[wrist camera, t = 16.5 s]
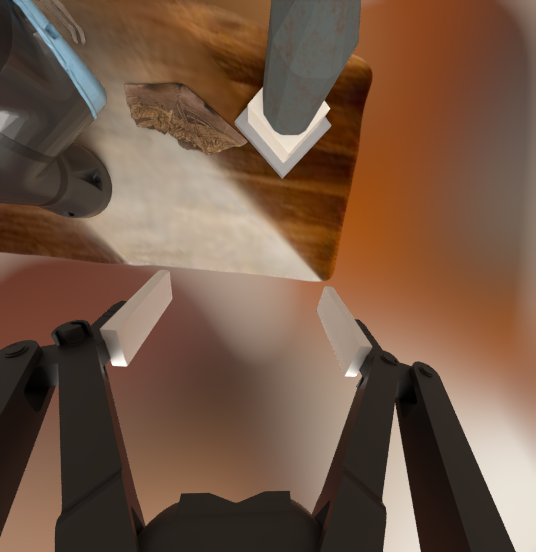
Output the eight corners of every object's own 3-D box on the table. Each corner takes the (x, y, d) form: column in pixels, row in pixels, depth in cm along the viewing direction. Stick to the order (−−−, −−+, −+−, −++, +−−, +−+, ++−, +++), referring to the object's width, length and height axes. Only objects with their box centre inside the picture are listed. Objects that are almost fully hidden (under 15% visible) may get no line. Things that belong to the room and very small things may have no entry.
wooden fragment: (118, 118, 40) (115, 115, 39) (131, 59, 38) (128, 54, 37) (236, 173, 45) (235, 171, 44) (253, 123, 43) (253, 120, 42)
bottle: (250, 98, 35) (255, -536, 6) (293, 59, 34) (549, -912, 5) (284, 149, 37) (403, -110, 8) (325, 115, 36) (612, -306, 8)
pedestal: (235, 124, 42) (232, 103, 35) (283, 68, 40) (291, 33, 33) (282, 178, 46) (288, 169, 38) (328, 128, 44) (344, 109, 37)
